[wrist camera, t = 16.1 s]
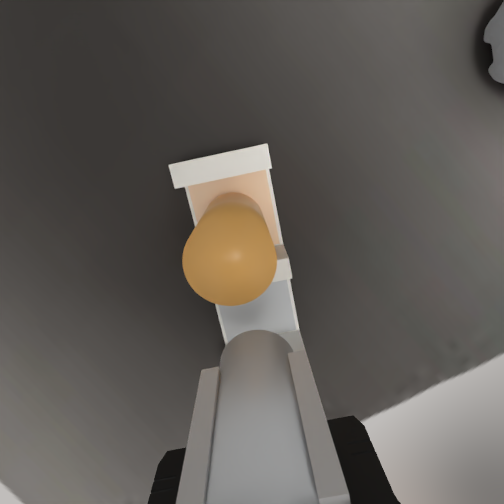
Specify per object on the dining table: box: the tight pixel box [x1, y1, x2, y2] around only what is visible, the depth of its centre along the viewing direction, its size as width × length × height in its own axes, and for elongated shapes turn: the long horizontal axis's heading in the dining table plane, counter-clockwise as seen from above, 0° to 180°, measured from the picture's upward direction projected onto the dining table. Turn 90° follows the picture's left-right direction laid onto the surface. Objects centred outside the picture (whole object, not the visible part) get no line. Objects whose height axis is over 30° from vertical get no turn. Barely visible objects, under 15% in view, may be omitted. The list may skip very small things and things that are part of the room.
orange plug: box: [182, 192, 277, 306], centre depth 17 cm, size 4×4×8 cm
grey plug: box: [205, 330, 320, 504], centre depth 13 cm, size 4×4×8 cm
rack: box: [169, 144, 306, 352], centre depth 21 cm, size 13×5×3 cm, turn 12°
